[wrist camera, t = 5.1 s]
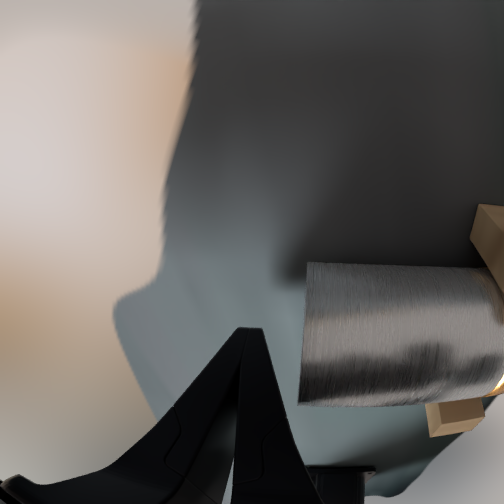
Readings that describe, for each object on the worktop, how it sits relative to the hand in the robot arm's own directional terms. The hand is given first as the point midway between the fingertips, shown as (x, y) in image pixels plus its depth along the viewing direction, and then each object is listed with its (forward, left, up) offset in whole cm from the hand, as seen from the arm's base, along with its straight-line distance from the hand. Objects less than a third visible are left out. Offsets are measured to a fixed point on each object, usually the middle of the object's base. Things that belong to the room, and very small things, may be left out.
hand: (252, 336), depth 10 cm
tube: (0, -8, -1) cm, 8 cm away
